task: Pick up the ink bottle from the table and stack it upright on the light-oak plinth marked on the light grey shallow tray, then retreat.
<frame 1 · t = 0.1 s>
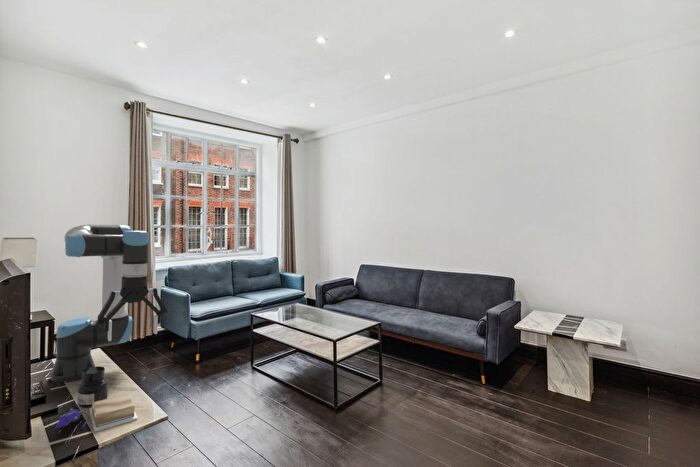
hand: (133, 336, 121), 28 cm above the table, tool pointing down, fingers open, 13 cm apart
oak plinth: (113, 408, 122), on the light grey shallow tray, point 2 cm above the table
light grey shallow tray: (112, 414, 122), on the table
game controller: (73, 427, 114), on the table
ink bottle: (92, 402, 130), on the table
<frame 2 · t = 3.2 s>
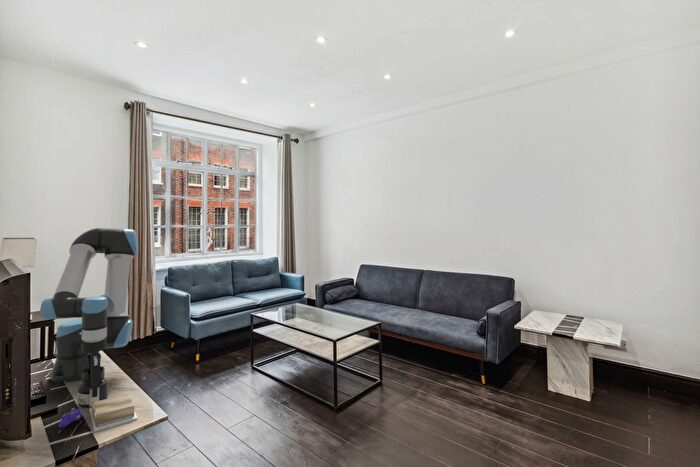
hand: (92, 399, 130), 1 cm above the table, tool pointing down, fingers closed on ink bottle, 9 cm apart
ink bottle: (92, 402, 130), on the table, touching gripper
everything else where it was.
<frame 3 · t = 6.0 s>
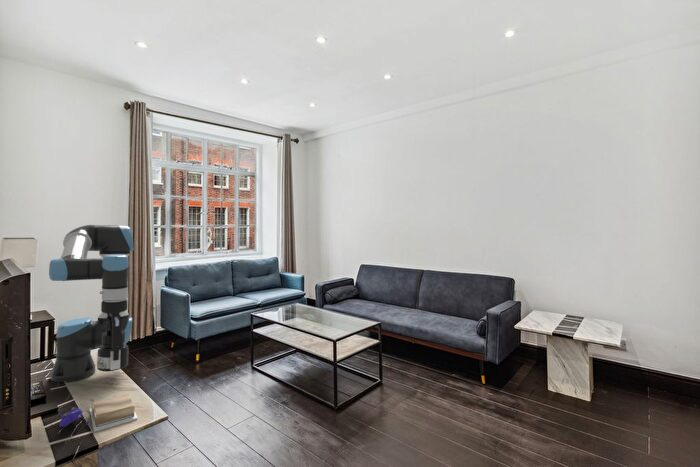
hand: (113, 364, 122), 18 cm above the table, tool pointing down, fingers closed on ink bottle, 9 cm apart
ink bottle: (112, 367, 122), point 17 cm above the table, touching gripper
everything else where it was.
when the fingers open (6 cm above the table, at t = 8.6 s): ink bottle drops 1 cm, resting on oak plinth.
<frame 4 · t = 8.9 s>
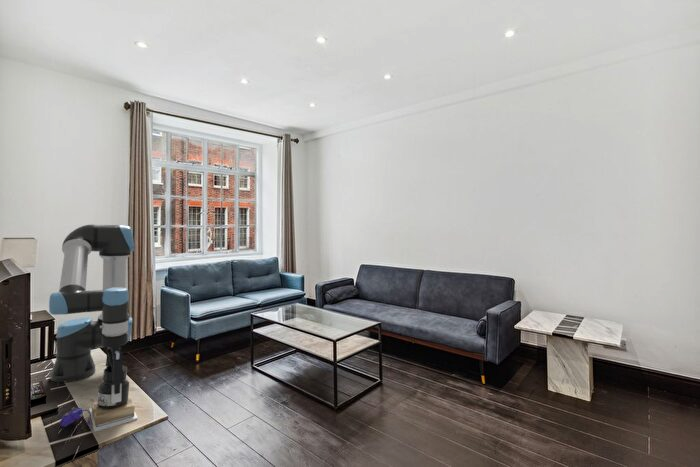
hand: (113, 394, 122), 7 cm above the table, tool pointing down, fingers open, 12 cm apart
ink bottle: (112, 404, 122), point 4 cm above the table, touching oak plinth
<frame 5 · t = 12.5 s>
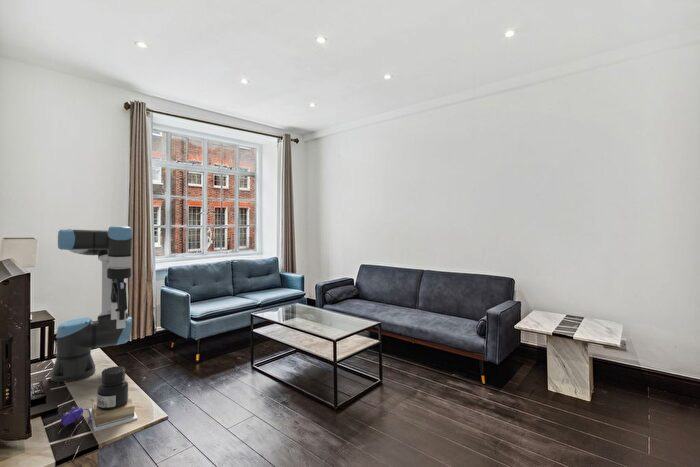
hand: (117, 323, 132), 29 cm above the table, tool pointing down, fingers open, 13 cm apart
at the end: ink bottle inside the target area (0.3 cm from its centre), point 3.6 cm above the table; ink bottle tilted 0°; the gripper is holding nothing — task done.
